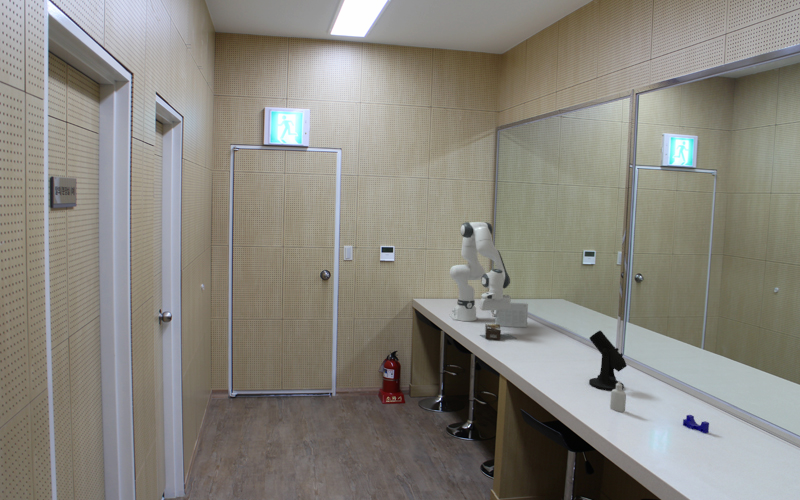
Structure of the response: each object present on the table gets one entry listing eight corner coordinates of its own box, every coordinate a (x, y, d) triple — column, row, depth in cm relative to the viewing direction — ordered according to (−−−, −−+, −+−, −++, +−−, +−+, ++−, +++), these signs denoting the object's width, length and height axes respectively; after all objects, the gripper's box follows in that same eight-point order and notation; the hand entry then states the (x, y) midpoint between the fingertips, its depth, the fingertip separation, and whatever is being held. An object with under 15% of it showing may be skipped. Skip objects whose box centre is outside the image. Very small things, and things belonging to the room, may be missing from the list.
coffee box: (484, 332, 342) (484, 338, 326) (485, 322, 341) (485, 328, 326) (499, 334, 341) (500, 340, 325) (500, 324, 340) (501, 329, 324)
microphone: (592, 377, 259) (596, 326, 257) (630, 386, 249) (633, 332, 246) (581, 384, 248) (584, 331, 246) (619, 394, 237) (623, 338, 235)
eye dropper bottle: (618, 407, 221) (620, 378, 220) (626, 412, 216) (628, 383, 215) (608, 407, 221) (610, 379, 220) (616, 412, 215) (618, 383, 214)
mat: (479, 335, 336) (479, 335, 336) (508, 334, 342) (508, 333, 342) (487, 339, 326) (487, 339, 326) (517, 338, 331) (517, 338, 331)
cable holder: (682, 425, 205) (683, 415, 204) (689, 424, 206) (690, 414, 206) (701, 434, 197) (702, 423, 197) (708, 433, 199) (709, 422, 198)
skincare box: (526, 326, 368) (527, 302, 366) (527, 327, 362) (528, 304, 361) (494, 324, 370) (495, 301, 368) (495, 326, 364) (496, 302, 363)
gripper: (508, 294, 343) (507, 315, 344) (479, 294, 337) (478, 316, 339) (513, 295, 337) (512, 317, 338) (483, 296, 331) (482, 318, 333)
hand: (494, 317), depth 338 cm, fingers closed
